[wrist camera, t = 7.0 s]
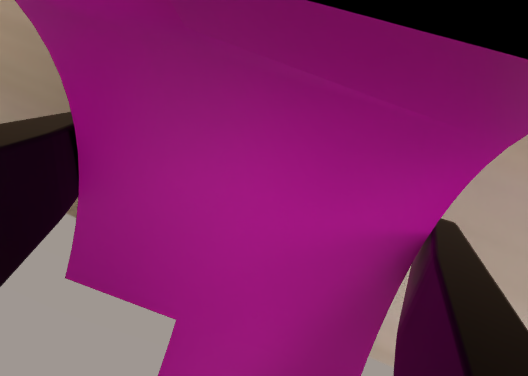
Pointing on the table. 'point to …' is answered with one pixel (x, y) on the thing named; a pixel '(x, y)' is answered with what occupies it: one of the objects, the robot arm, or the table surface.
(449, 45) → the toy block
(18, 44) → the table surface
